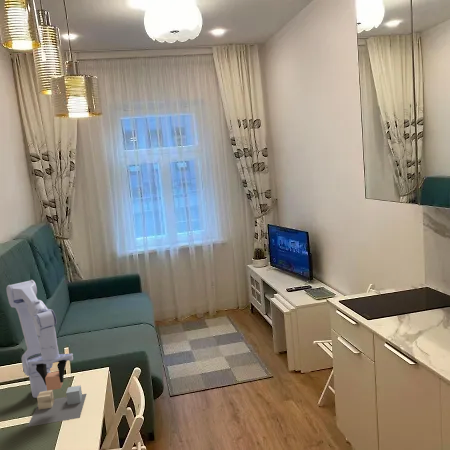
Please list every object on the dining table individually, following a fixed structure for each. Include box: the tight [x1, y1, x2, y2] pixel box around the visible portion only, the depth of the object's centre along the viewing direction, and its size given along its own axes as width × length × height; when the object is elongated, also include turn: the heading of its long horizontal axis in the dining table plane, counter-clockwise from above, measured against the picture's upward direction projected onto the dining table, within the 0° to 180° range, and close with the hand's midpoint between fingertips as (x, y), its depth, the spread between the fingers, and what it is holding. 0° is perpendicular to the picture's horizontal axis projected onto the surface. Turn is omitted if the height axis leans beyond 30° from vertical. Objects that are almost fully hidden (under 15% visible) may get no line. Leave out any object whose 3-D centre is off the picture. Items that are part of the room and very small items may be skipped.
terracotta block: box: [45, 370, 64, 391], centre depth 168 cm, size 4×4×4 cm
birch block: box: [36, 390, 55, 410], centre depth 173 cm, size 4×4×4 cm
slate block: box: [65, 384, 83, 405], centre depth 174 cm, size 4×4×4 cm
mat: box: [26, 393, 87, 428], centre depth 169 cm, size 18×17×1 cm
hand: (54, 382), depth 168 cm, fingers closed on terracotta block, 4 cm apart
